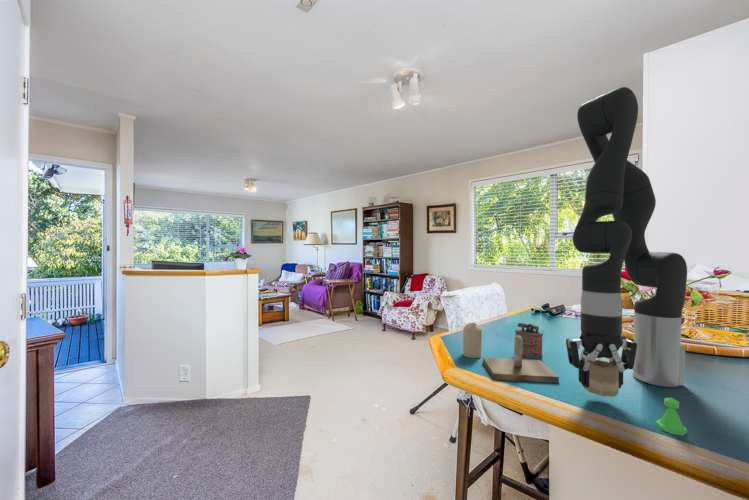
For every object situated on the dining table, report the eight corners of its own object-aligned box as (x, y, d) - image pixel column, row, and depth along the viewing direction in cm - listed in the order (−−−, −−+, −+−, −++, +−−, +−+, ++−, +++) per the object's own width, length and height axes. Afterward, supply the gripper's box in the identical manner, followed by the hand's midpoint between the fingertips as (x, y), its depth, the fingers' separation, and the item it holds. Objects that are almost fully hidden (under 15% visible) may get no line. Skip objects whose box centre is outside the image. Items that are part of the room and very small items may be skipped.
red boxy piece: (543, 355, 102) (543, 324, 102) (542, 358, 99) (542, 326, 99) (515, 351, 106) (516, 320, 106) (513, 353, 103) (514, 322, 103)
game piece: (656, 429, 61) (656, 398, 61) (655, 420, 64) (656, 390, 64) (687, 438, 58) (688, 405, 58) (685, 428, 62) (686, 397, 62)
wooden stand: (539, 365, 93) (540, 330, 93) (558, 382, 82) (559, 343, 81) (482, 362, 95) (483, 328, 95) (493, 379, 83) (494, 340, 83)
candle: (482, 359, 98) (482, 326, 98) (463, 357, 99) (464, 325, 99) (480, 353, 104) (480, 322, 103) (462, 351, 105) (462, 321, 104)
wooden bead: (606, 384, 74) (606, 358, 74) (624, 396, 68) (624, 368, 68) (579, 383, 75) (579, 358, 75) (594, 396, 69) (594, 368, 69)
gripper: (623, 308, 75) (623, 380, 75) (558, 307, 76) (558, 378, 76) (648, 315, 67) (647, 395, 67) (575, 314, 68) (575, 393, 69)
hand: (600, 386), depth 72 cm, fingers closed on wooden bead, 6 cm apart
